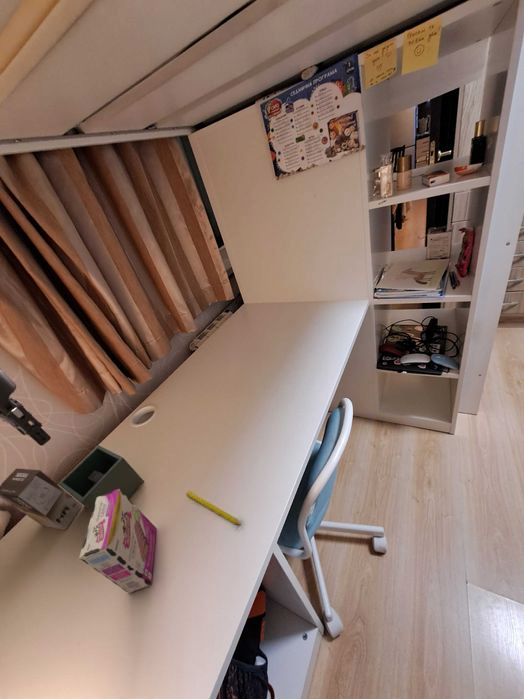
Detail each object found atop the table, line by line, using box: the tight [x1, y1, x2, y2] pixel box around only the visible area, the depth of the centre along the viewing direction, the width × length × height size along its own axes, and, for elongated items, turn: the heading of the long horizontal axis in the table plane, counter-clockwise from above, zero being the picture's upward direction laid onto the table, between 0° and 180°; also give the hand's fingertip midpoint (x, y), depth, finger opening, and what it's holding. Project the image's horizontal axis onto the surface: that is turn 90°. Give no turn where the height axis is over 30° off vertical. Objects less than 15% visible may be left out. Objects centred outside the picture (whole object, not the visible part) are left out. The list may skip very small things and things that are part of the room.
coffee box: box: [0, 467, 83, 531], centre depth 70 cm, size 9×6×16 cm
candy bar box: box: [78, 489, 157, 594], centre depth 56 cm, size 11×5×16 cm, turn 13°
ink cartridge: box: [88, 471, 104, 484], centre depth 73 cm, size 5×2×8 cm, turn 63°
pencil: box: [185, 490, 241, 525], centre depth 65 cm, size 16×1×1 cm, turn 58°
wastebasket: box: [57, 444, 145, 513], centre depth 73 cm, size 12×12×10 cm
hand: (37, 436), depth 61 cm, fingers open, 8 cm apart
